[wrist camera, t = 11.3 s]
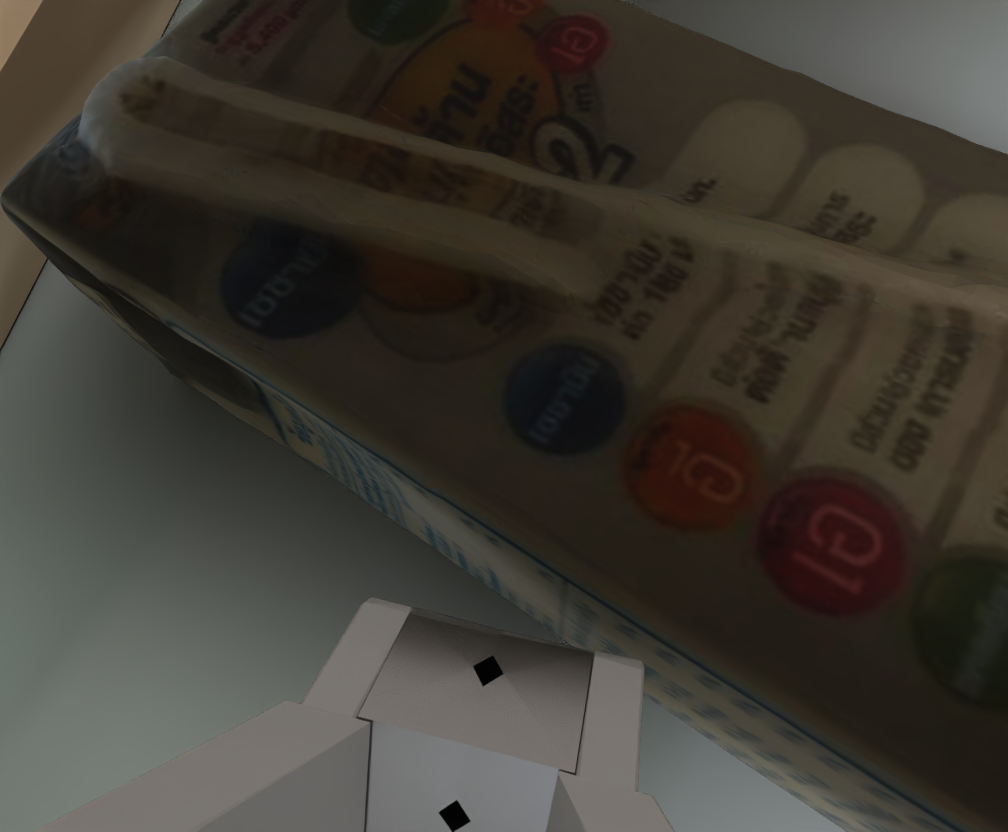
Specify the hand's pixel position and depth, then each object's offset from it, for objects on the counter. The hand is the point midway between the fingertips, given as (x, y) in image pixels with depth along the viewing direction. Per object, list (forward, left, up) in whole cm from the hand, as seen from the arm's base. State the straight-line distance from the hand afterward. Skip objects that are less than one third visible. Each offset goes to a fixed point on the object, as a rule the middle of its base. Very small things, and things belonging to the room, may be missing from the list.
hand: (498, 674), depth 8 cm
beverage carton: (+2, +4, -5) cm, 7 cm away
